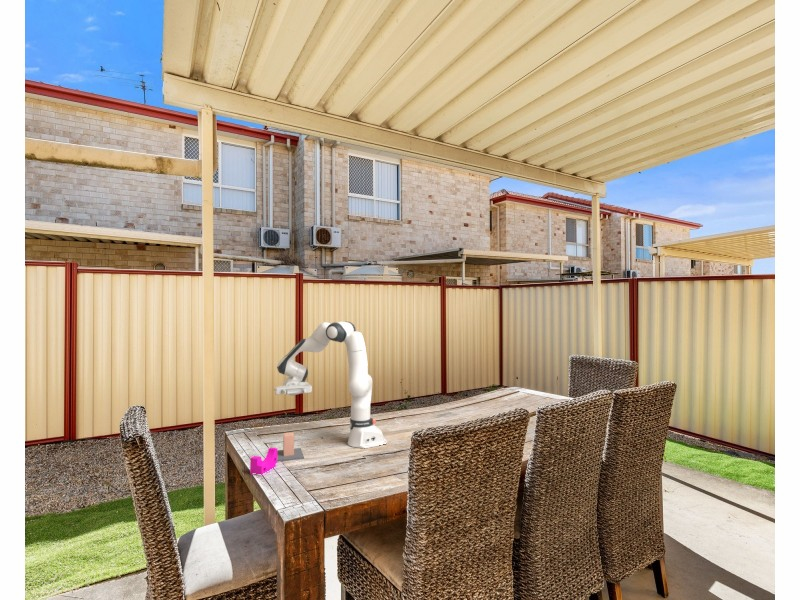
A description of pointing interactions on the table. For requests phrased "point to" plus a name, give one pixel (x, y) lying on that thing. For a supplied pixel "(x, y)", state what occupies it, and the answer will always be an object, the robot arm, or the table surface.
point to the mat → (297, 455)
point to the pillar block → (288, 444)
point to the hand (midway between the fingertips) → (294, 392)
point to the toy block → (264, 462)
